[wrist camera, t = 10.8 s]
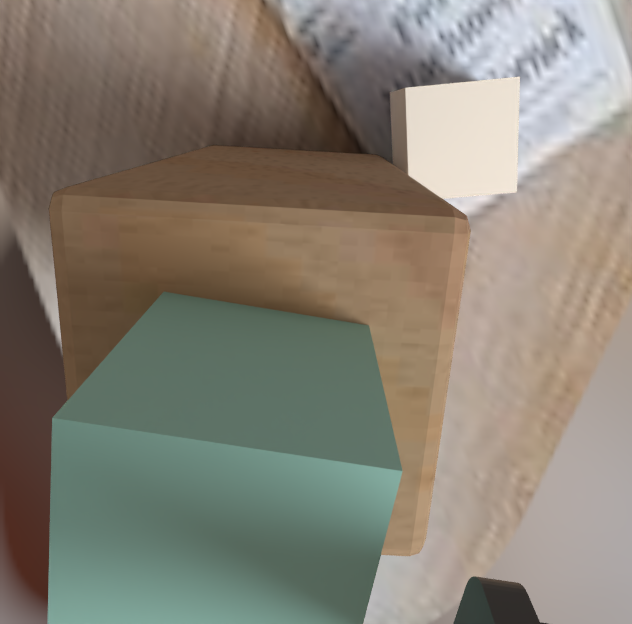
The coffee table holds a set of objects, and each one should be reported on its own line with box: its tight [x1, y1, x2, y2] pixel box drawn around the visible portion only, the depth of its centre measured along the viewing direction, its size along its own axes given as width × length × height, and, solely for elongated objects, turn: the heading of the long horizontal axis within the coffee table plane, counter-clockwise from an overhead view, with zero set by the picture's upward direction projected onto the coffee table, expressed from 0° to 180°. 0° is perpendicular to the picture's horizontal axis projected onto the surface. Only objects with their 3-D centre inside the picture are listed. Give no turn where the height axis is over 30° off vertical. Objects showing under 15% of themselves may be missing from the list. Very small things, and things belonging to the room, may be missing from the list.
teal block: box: [48, 292, 403, 624], centre depth 12 cm, size 5×5×6 cm
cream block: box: [390, 77, 520, 199], centre depth 29 cm, size 5×5×6 cm
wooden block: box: [49, 145, 471, 556], centre depth 24 cm, size 10×10×20 cm
